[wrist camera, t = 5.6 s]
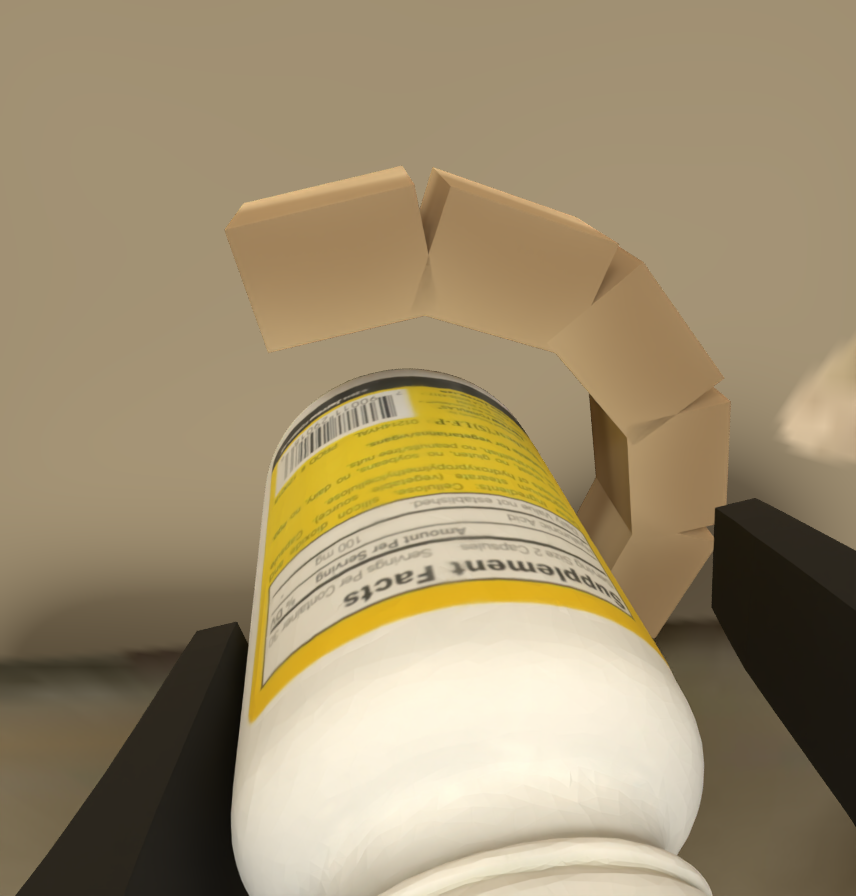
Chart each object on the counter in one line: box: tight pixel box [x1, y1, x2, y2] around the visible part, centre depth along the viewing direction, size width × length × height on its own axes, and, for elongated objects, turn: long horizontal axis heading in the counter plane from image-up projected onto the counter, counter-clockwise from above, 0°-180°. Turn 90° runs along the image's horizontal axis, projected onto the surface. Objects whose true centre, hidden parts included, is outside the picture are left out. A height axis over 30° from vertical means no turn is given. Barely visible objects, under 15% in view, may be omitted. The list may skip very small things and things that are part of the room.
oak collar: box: [225, 166, 731, 638], centre depth 12 cm, size 7×12×2 cm, turn 12°
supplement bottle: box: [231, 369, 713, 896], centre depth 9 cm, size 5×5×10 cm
